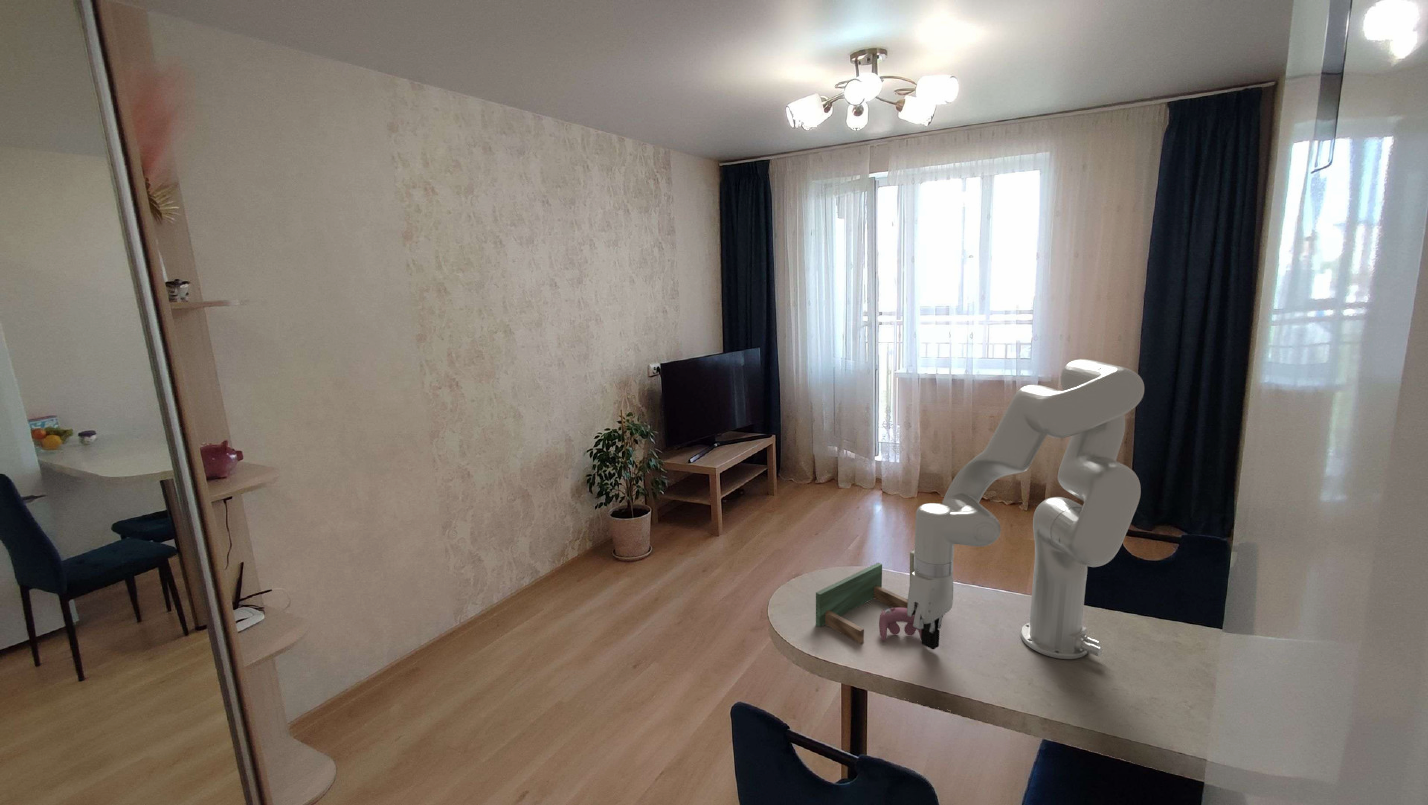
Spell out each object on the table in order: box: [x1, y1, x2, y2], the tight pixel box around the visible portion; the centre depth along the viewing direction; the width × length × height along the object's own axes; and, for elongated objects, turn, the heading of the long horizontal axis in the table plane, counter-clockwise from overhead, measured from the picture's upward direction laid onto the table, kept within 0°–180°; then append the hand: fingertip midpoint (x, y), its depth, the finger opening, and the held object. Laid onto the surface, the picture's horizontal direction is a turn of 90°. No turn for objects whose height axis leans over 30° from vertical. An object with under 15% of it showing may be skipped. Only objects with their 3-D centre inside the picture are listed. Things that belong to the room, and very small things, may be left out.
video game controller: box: [878, 607, 921, 642], centre depth 136 cm, size 10×5×7 cm, turn 81°
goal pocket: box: [815, 562, 908, 644], centre depth 143 cm, size 11×22×8 cm, turn 128°
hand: (929, 645), depth 131 cm, fingers closed
